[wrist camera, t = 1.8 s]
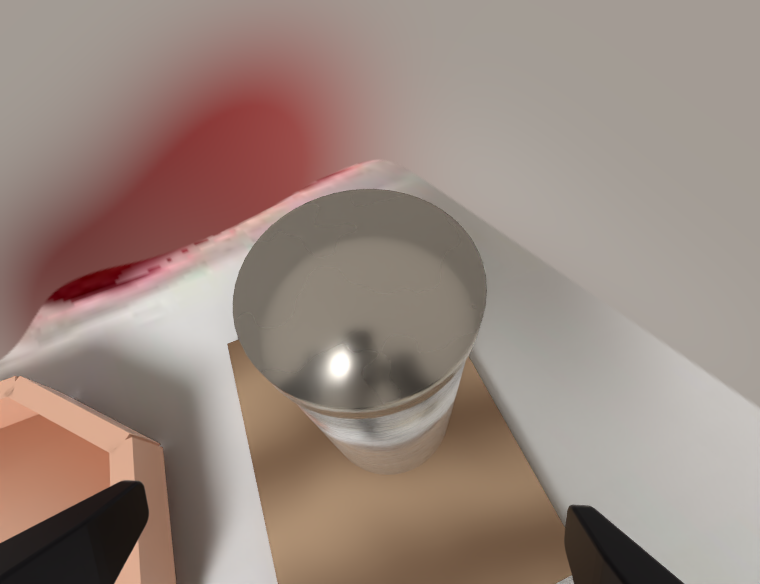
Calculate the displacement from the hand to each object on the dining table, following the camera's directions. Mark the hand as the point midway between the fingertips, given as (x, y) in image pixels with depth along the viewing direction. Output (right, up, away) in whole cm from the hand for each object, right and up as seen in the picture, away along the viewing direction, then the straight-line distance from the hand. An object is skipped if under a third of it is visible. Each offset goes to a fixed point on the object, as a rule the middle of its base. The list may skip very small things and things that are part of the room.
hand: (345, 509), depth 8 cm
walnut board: (+1, -3, +12) cm, 12 cm away
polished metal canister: (+1, -1, +12) cm, 12 cm away
